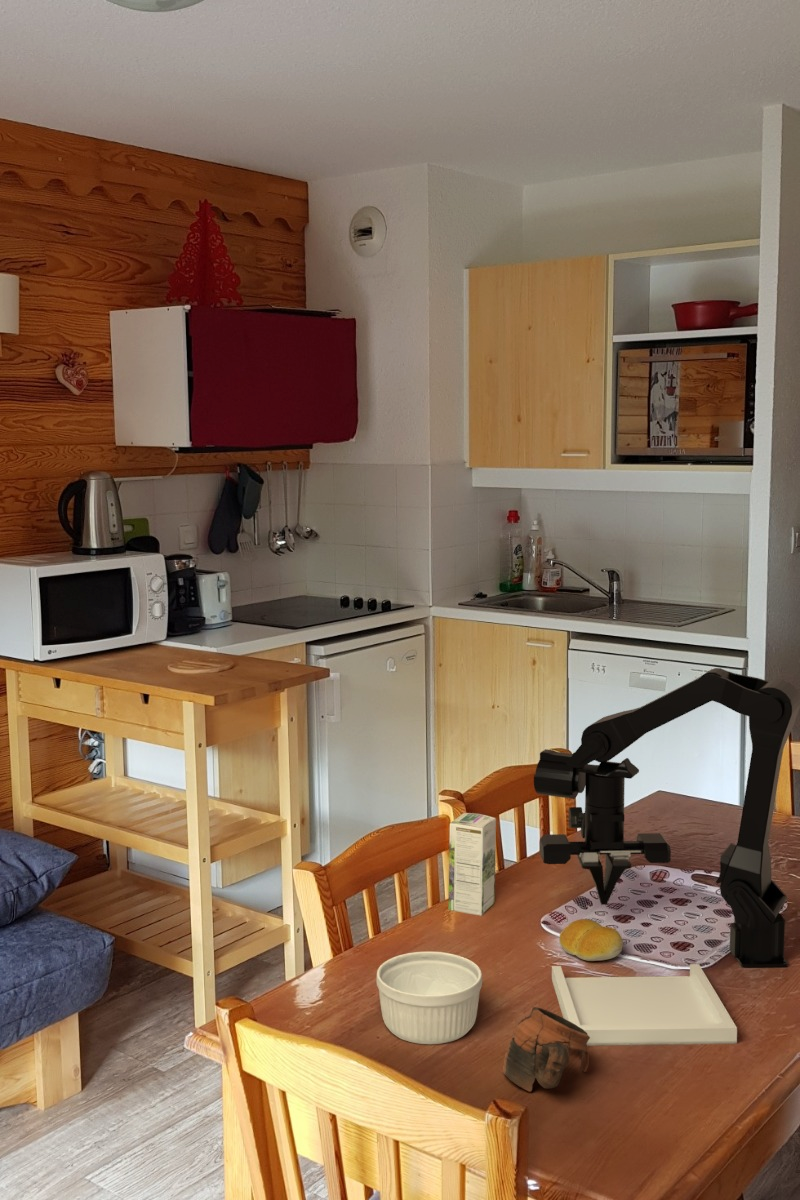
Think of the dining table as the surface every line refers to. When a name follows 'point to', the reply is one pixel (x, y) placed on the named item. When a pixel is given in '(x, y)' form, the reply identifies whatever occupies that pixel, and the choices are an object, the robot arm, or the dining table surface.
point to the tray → (645, 1009)
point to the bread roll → (590, 940)
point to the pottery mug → (543, 1049)
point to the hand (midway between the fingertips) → (603, 903)
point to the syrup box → (472, 863)
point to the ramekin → (429, 996)
